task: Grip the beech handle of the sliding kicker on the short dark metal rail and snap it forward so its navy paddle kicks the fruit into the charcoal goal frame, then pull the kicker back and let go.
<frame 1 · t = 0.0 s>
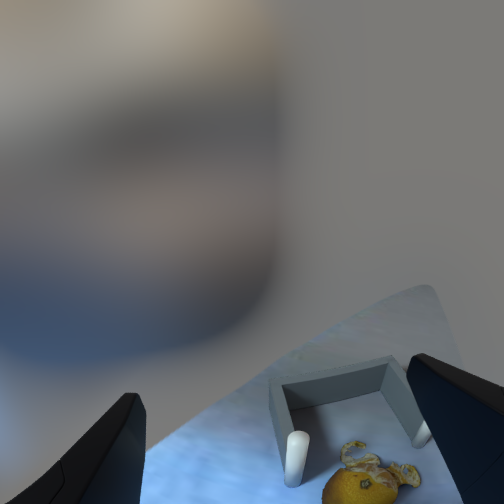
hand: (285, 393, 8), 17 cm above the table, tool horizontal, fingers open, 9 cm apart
fruit: (371, 486, 16), on the table
goal: (344, 426, 23), on the table
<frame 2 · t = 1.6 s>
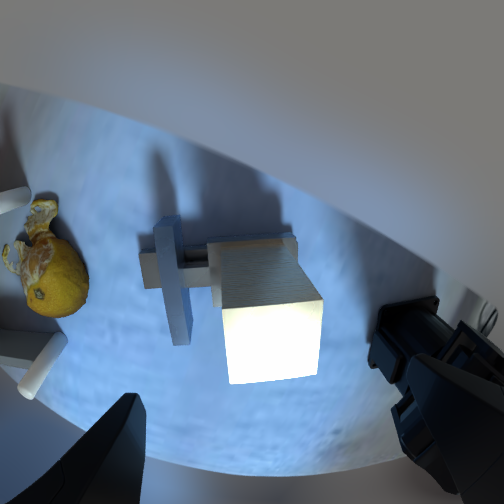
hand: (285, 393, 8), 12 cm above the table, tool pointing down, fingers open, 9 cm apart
fruit: (49, 249, 18), on the table
kicker: (234, 298, 14), point 5 cm above the table, slide at 0.0 cm
rail: (218, 261, 19), on the table
goal: (1, 274, 17), on the table
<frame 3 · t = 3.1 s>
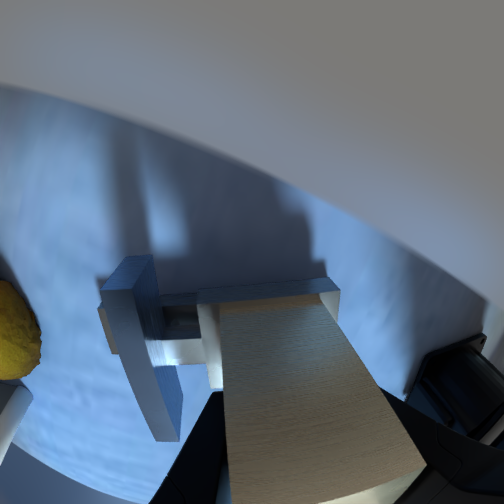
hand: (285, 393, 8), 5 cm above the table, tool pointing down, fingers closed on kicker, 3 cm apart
kicker: (245, 407, 8), point 5 cm above the table, slide at 0.0 cm, touching gripper
rail: (216, 316, 13), on the table
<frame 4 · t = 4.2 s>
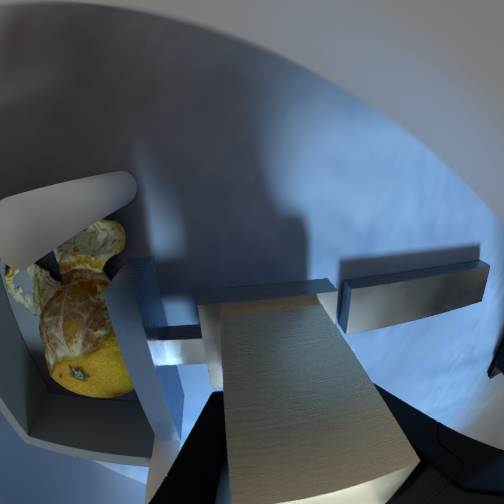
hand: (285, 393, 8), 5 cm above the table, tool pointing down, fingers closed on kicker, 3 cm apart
fruit: (88, 289, 12), on the table
kicker: (245, 405, 8), point 5 cm above the table, slide at 10.8 cm, touching gripper
rail: (421, 289, 14), on the table
goal: (60, 321, 12), on the table
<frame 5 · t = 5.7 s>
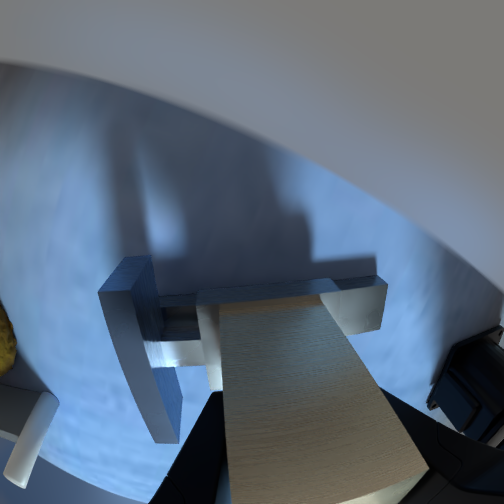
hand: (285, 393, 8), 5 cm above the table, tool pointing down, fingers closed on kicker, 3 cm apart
kicker: (245, 409, 7), point 5 cm above the table, slide at 2.5 cm, touching gripper
rail: (273, 311, 13), on the table
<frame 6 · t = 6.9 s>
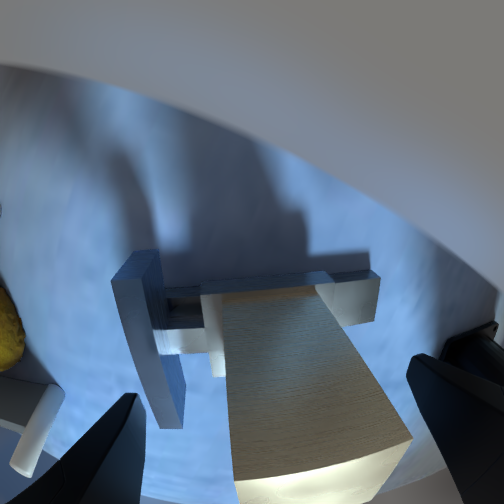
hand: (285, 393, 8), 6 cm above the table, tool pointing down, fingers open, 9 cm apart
kicker: (245, 390, 8), point 5 cm above the table, slide at 2.5 cm
rail: (272, 303, 14), on the table
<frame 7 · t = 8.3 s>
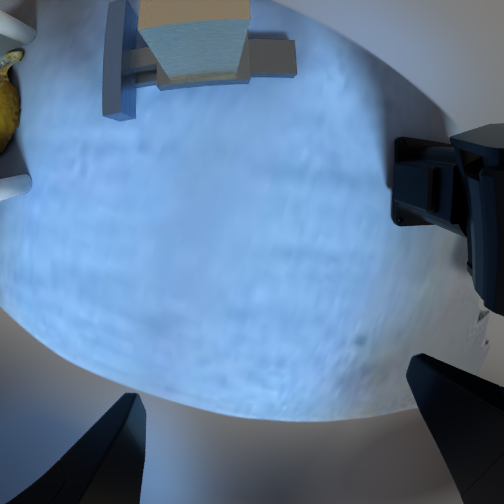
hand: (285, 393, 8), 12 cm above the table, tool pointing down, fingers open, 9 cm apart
fruit: (0, 99, 13), on the table
kicker: (171, 31, 10), point 5 cm above the table, slide at 2.5 cm
rail: (212, 61, 15), on the table
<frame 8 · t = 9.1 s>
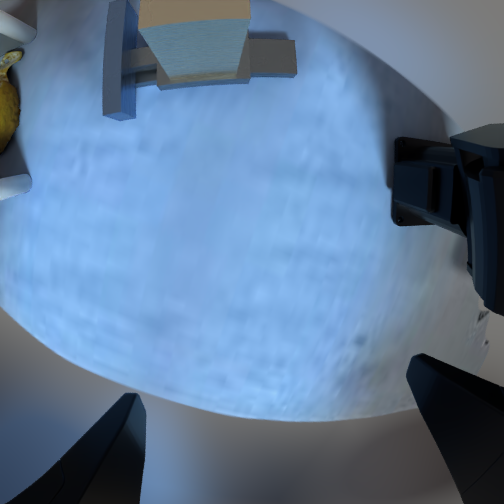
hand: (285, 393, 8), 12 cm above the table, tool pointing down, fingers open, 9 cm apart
fruit: (0, 99, 13), on the table
kicker: (172, 30, 10), point 5 cm above the table, slide at 2.5 cm
rail: (212, 61, 15), on the table
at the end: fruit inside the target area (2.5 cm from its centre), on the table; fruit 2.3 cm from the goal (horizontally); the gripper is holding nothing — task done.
